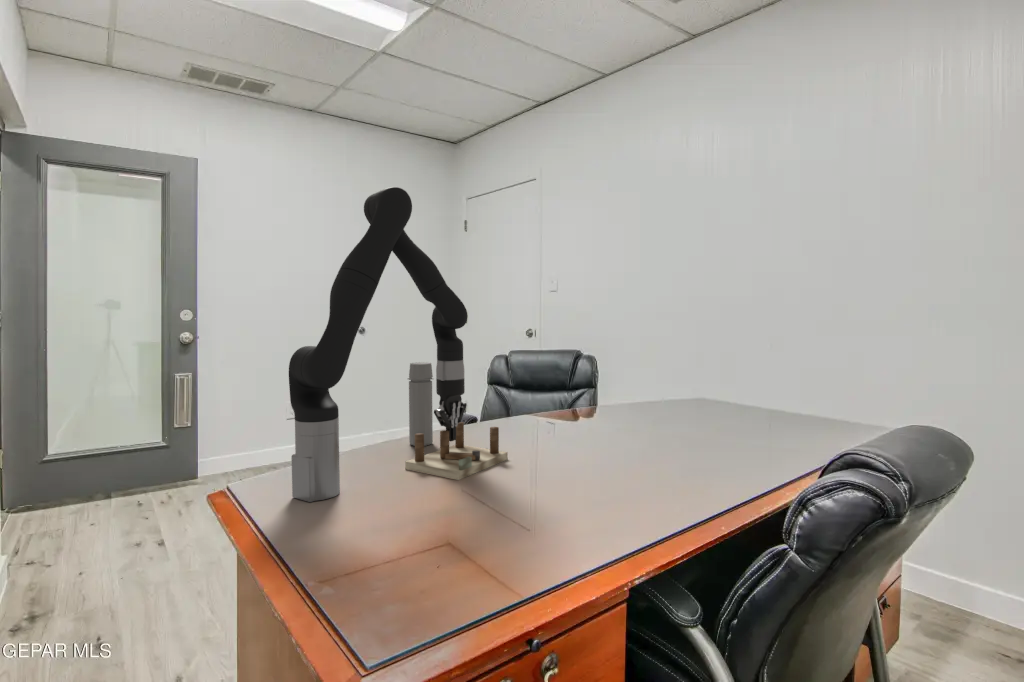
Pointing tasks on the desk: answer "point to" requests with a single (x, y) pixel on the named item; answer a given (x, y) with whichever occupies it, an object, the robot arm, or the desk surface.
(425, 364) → the water bottle
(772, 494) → the desk surface
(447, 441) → the swing leg
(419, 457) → the stool frame
